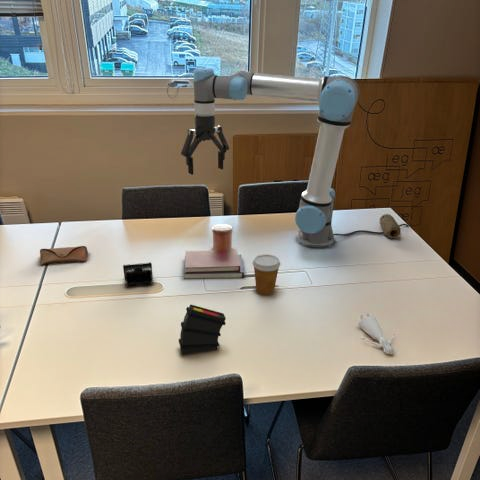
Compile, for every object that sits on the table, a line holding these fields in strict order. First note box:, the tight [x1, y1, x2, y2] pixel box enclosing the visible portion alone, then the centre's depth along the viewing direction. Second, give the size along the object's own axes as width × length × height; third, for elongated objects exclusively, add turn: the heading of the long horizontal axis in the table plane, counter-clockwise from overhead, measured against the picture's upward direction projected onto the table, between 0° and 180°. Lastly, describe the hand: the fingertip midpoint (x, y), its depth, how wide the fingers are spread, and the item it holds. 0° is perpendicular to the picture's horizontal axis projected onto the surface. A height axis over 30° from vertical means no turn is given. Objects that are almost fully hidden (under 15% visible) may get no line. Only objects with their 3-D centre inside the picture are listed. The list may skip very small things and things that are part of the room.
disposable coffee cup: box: [252, 254, 281, 296], centre depth 175 cm, size 10×10×12 cm
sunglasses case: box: [39, 245, 89, 266], centre depth 195 cm, size 18×7×7 cm, turn 104°
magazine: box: [178, 303, 227, 356], centre depth 145 cm, size 4×13×15 cm, turn 106°
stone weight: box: [379, 213, 402, 239], centre depth 220 cm, size 15×7×7 cm, turn 5°
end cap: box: [122, 261, 154, 289], centre depth 180 cm, size 10×7×7 cm
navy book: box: [183, 254, 245, 280], centre depth 190 cm, size 22×15×3 cm
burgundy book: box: [184, 249, 240, 273], centre depth 189 cm, size 20×14×2 cm
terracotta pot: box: [211, 223, 233, 250], centre depth 202 cm, size 8×8×10 cm
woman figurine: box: [358, 313, 396, 355], centre depth 153 cm, size 12×4×18 cm
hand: (206, 171), depth 199 cm, fingers open, 13 cm apart
